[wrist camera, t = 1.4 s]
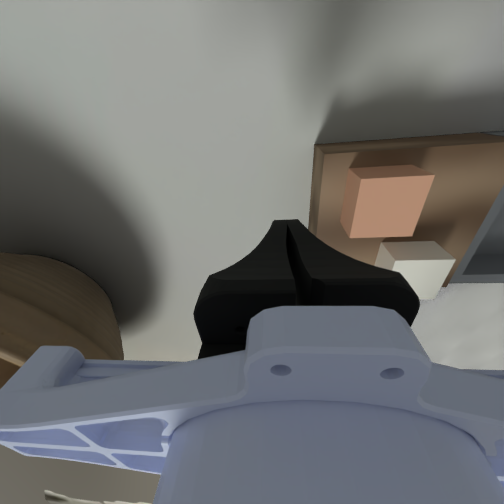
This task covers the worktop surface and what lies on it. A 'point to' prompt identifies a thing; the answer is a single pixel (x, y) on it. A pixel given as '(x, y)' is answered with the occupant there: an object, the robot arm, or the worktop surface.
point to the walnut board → (438, 199)
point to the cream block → (417, 264)
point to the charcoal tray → (485, 246)
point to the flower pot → (52, 312)
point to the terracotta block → (384, 200)
